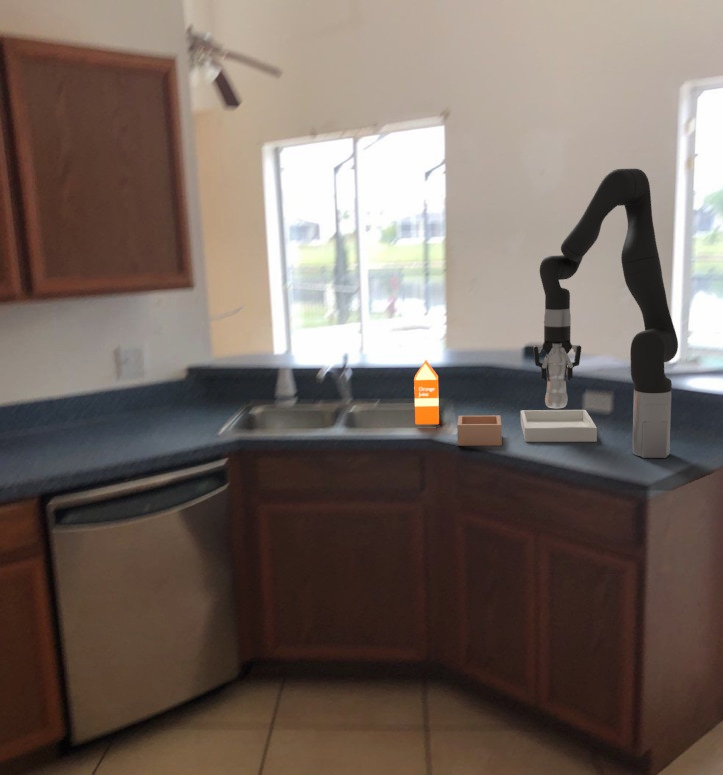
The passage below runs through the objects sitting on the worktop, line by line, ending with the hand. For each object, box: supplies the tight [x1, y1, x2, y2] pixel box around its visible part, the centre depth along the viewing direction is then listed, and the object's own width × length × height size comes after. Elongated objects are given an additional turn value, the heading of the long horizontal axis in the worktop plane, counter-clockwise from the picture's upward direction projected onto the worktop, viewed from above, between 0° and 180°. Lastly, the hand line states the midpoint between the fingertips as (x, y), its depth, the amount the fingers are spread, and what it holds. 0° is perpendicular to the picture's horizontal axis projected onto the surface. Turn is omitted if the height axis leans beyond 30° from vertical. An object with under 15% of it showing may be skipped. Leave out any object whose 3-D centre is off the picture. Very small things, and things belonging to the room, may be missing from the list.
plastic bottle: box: [544, 343, 569, 410], centre depth 229 cm, size 6×7×20 cm
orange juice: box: [413, 359, 440, 425], centre depth 251 cm, size 8×9×20 cm
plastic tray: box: [520, 409, 598, 443], centre depth 232 cm, size 24×20×4 cm
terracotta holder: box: [456, 414, 503, 446], centre depth 225 cm, size 12×12×6 cm
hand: (556, 380), depth 229 cm, fingers closed on plastic bottle, 6 cm apart
